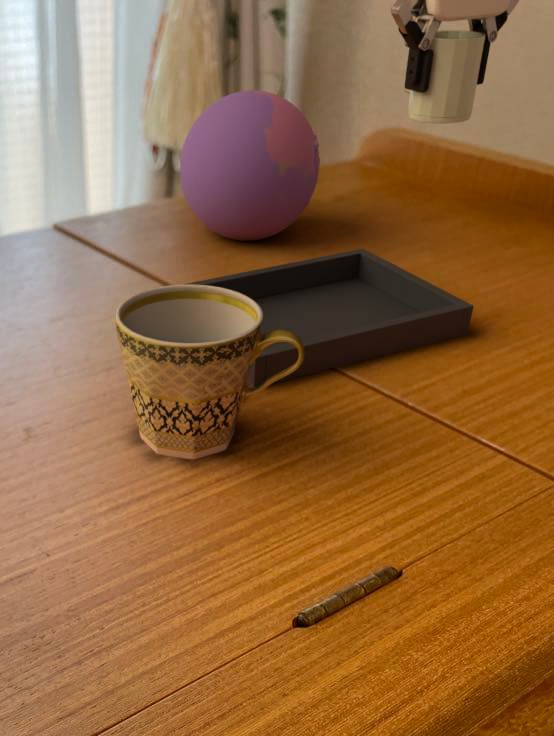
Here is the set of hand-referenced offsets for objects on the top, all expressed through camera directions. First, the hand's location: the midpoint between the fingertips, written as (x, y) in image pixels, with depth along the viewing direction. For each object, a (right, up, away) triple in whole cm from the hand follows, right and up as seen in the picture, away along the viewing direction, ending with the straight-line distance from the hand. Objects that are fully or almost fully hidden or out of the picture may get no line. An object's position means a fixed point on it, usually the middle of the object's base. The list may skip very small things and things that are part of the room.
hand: (443, 85), depth 95 cm
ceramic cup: (-28, -43, -31) cm, 60 cm away
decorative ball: (-21, -16, +4) cm, 27 cm away
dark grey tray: (-17, -31, -16) cm, 38 cm away
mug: (0, -2, +3) cm, 3 cm away
